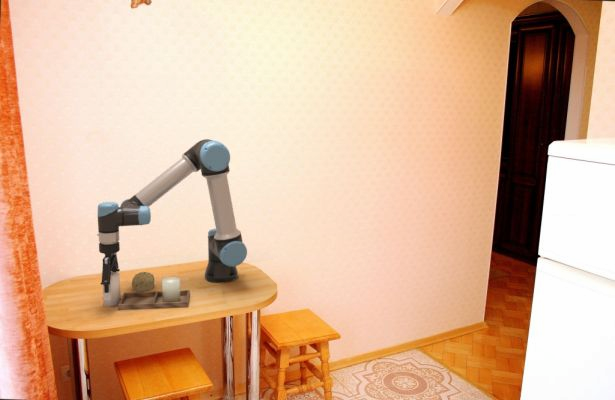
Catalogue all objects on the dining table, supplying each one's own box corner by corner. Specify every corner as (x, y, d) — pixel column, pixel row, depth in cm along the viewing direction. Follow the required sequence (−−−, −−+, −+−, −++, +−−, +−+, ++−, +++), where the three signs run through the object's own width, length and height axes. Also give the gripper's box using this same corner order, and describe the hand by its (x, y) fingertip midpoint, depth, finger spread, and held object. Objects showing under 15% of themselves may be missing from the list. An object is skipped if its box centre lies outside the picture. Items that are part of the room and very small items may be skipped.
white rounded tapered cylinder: (122, 300, 212) (120, 271, 210) (119, 306, 206) (117, 277, 204) (105, 300, 211) (104, 272, 209) (102, 306, 205) (100, 277, 203)
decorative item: (140, 302, 220) (153, 285, 217) (122, 287, 220) (135, 270, 218) (151, 295, 229) (163, 278, 226) (134, 280, 229) (146, 264, 227)
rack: (189, 297, 217) (189, 290, 216) (187, 309, 204) (187, 302, 203) (124, 299, 213) (124, 292, 212) (118, 312, 200) (117, 305, 199)
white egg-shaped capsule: (181, 297, 213) (180, 276, 211) (179, 304, 206) (179, 282, 205) (163, 298, 212) (162, 277, 210) (161, 305, 205) (160, 283, 204)
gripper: (105, 234, 215) (107, 283, 219) (91, 250, 191) (93, 305, 195) (124, 233, 217) (126, 282, 220) (112, 250, 192) (114, 305, 196)
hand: (111, 293), depth 208 cm, fingers open, 13 cm apart
